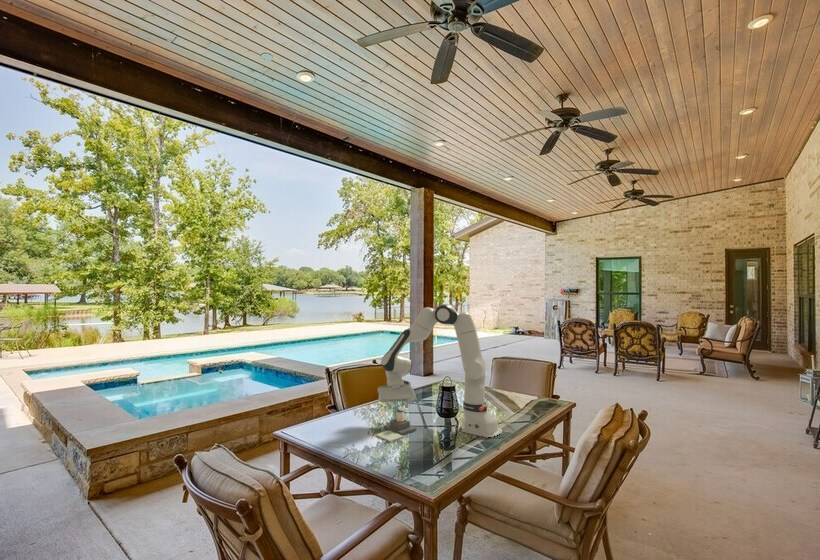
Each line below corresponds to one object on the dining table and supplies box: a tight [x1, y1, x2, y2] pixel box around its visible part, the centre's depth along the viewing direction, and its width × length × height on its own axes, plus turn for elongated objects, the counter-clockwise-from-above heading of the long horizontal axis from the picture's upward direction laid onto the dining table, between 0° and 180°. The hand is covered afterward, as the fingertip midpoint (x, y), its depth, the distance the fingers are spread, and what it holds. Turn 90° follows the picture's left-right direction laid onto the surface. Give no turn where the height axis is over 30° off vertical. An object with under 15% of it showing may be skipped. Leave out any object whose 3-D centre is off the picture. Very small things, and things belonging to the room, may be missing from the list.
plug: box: [395, 408, 405, 423], centre depth 214 cm, size 4×4×9 cm
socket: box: [383, 418, 417, 436], centre depth 214 cm, size 14×11×4 cm
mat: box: [375, 430, 405, 443], centre depth 203 cm, size 11×9×1 cm
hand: (398, 407), depth 218 cm, fingers open, 8 cm apart
